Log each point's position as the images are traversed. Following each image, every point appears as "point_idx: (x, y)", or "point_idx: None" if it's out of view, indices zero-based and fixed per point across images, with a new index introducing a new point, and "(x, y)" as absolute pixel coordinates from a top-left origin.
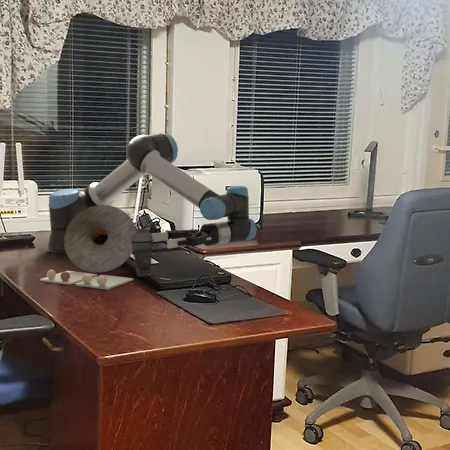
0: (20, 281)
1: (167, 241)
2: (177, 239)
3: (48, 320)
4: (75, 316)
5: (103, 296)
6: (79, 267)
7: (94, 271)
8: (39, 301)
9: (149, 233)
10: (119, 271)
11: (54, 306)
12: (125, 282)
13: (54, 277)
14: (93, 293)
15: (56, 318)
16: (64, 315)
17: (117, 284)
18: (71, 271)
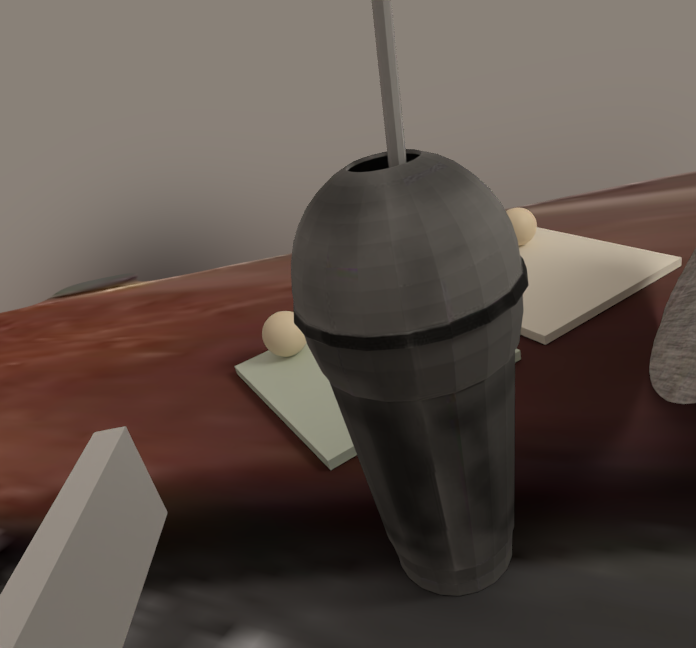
0: (550, 207)
1: (121, 445)
2: (27, 559)
3: (78, 290)
4: (44, 321)
5: (156, 363)
6: (684, 271)
7: (658, 331)
8: (258, 262)
9: (319, 246)
10: (648, 430)
11: (178, 286)
12: (292, 429)
13: None
14: (226, 342)
15: (75, 298)
16: (78, 306)
17: (263, 396)
18: (655, 268)
